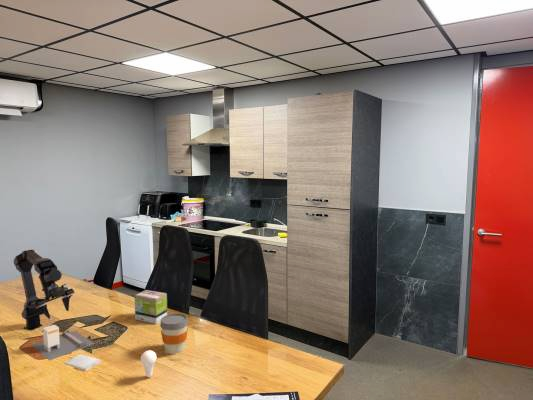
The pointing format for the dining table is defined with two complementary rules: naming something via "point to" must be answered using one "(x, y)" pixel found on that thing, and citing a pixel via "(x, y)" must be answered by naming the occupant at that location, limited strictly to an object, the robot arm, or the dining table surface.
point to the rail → (74, 339)
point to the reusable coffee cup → (174, 332)
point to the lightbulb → (148, 362)
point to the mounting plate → (62, 346)
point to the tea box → (150, 306)
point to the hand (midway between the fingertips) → (58, 314)
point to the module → (51, 337)
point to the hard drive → (83, 362)
